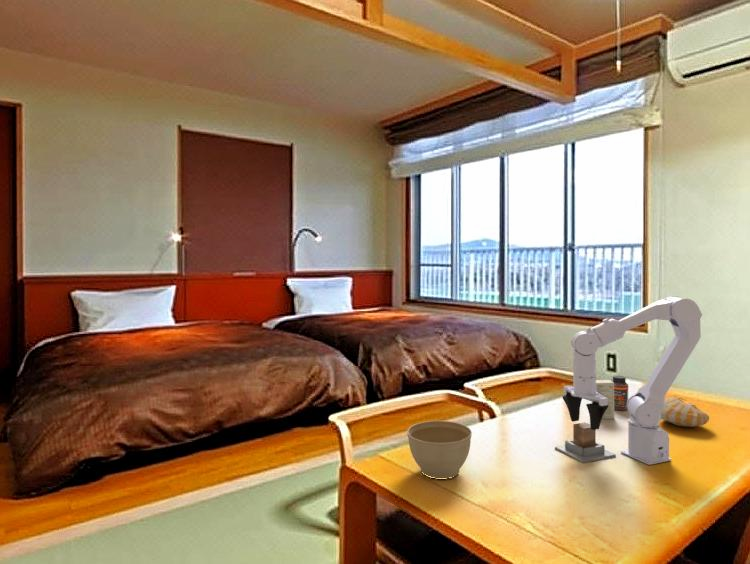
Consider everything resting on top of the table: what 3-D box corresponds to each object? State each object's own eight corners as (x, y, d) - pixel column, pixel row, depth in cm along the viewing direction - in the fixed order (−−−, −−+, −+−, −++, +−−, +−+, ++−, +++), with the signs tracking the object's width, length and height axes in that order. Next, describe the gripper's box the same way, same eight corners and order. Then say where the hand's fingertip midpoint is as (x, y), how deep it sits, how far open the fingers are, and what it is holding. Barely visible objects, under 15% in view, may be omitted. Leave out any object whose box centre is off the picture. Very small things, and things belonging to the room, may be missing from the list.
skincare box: (610, 415, 176) (610, 379, 175) (614, 419, 171) (615, 382, 171) (590, 414, 176) (590, 379, 176) (595, 419, 172) (595, 382, 171)
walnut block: (595, 451, 143) (595, 426, 142) (583, 454, 141) (583, 428, 141) (584, 446, 146) (584, 422, 146) (573, 449, 145) (573, 424, 145)
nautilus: (659, 411, 180) (710, 421, 171) (649, 425, 162) (706, 436, 154) (660, 389, 180) (712, 397, 171) (651, 400, 162) (708, 410, 153)
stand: (615, 456, 141) (615, 447, 140) (583, 463, 137) (583, 453, 137) (586, 443, 151) (586, 434, 151) (554, 448, 147) (554, 439, 147)
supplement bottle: (610, 410, 181) (610, 378, 180) (608, 405, 186) (608, 374, 186) (629, 411, 179) (629, 379, 178) (626, 406, 185) (626, 375, 184)
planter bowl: (398, 466, 138) (397, 425, 137) (452, 456, 143) (451, 417, 143) (425, 491, 122) (424, 446, 122) (484, 479, 128) (484, 436, 128)
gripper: (554, 372, 148) (555, 419, 149) (592, 383, 134) (592, 435, 135) (574, 369, 151) (575, 415, 151) (613, 380, 137) (613, 431, 138)
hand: (584, 424), depth 143 cm, fingers open, 7 cm apart
